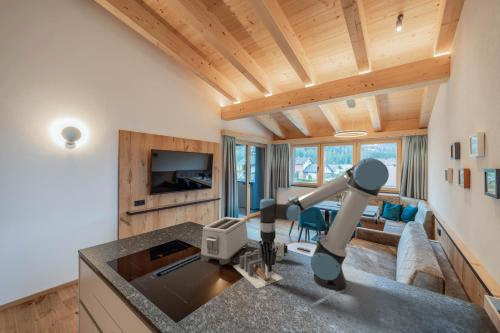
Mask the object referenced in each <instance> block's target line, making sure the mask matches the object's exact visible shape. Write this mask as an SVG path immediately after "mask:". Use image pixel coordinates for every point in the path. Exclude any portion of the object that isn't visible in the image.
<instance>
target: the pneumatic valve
mask: <svg viewBox="0 0 500 333" xmlns="http://www.w3.org/2000/svg"><path fill="white" fill-rule="evenodd" d="M274 243H275V247H278V250H277V254H276V260H275V262H282V261H283V257H286V254H288V253H289V252H288V245H286V242H280V241H277V242H276V241H274Z"/></svg>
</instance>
